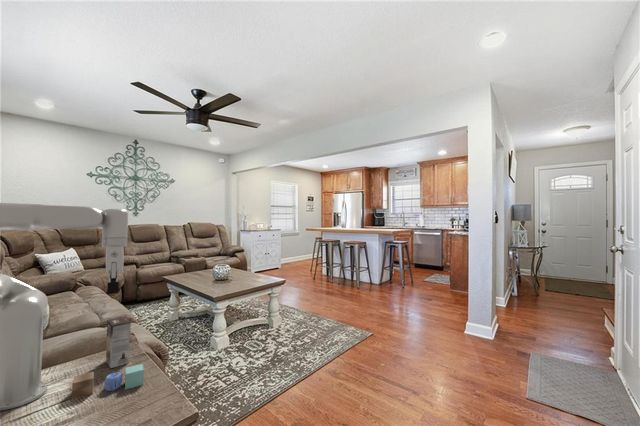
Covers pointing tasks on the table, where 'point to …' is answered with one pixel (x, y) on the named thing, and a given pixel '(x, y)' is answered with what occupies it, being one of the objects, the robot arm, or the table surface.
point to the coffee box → (118, 341)
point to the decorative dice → (113, 381)
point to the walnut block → (82, 385)
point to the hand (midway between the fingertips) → (112, 292)
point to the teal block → (134, 376)
